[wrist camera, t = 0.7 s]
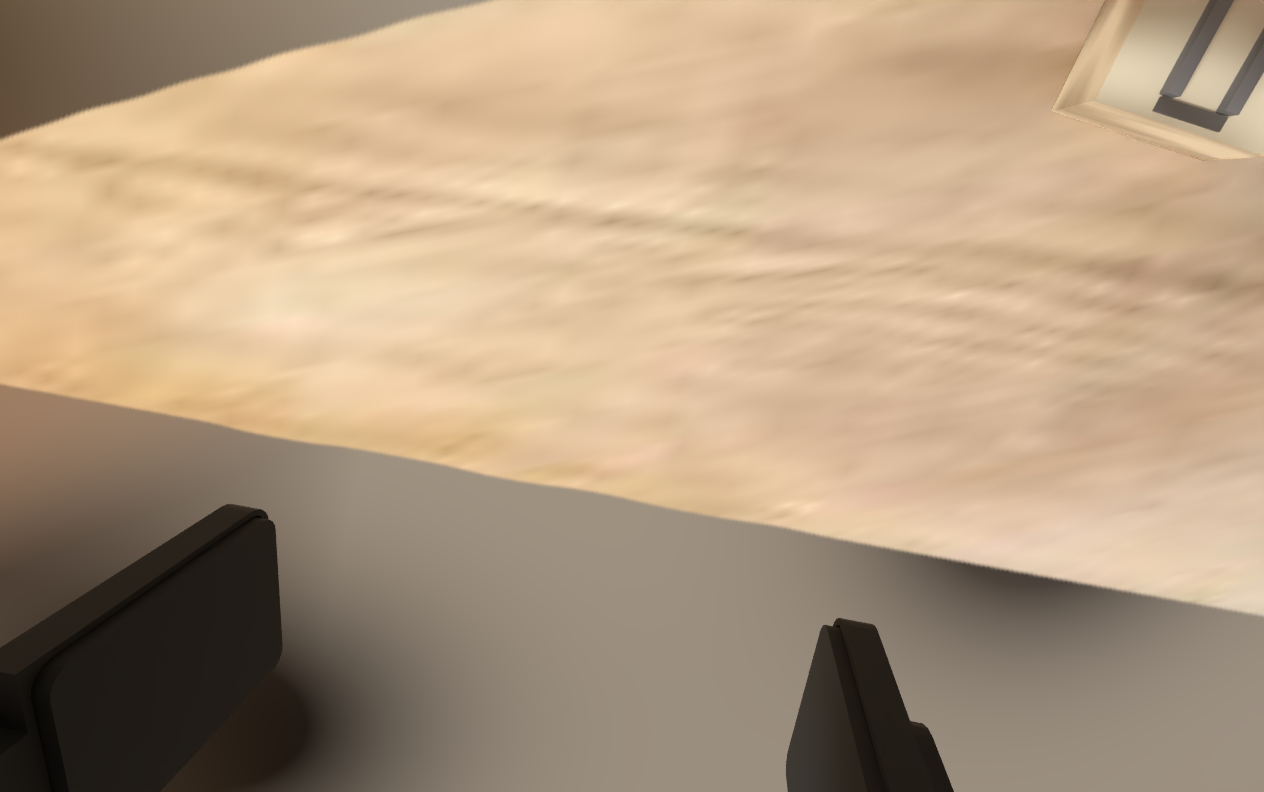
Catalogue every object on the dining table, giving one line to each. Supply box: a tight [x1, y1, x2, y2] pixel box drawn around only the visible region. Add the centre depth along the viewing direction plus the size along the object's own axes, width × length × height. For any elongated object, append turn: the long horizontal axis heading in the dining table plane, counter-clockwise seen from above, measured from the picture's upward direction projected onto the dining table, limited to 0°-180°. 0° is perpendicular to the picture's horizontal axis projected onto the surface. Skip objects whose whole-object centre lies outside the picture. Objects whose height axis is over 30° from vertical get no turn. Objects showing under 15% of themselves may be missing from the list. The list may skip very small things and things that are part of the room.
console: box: [1051, 0, 1264, 161], centre depth 29 cm, size 10×8×5 cm
